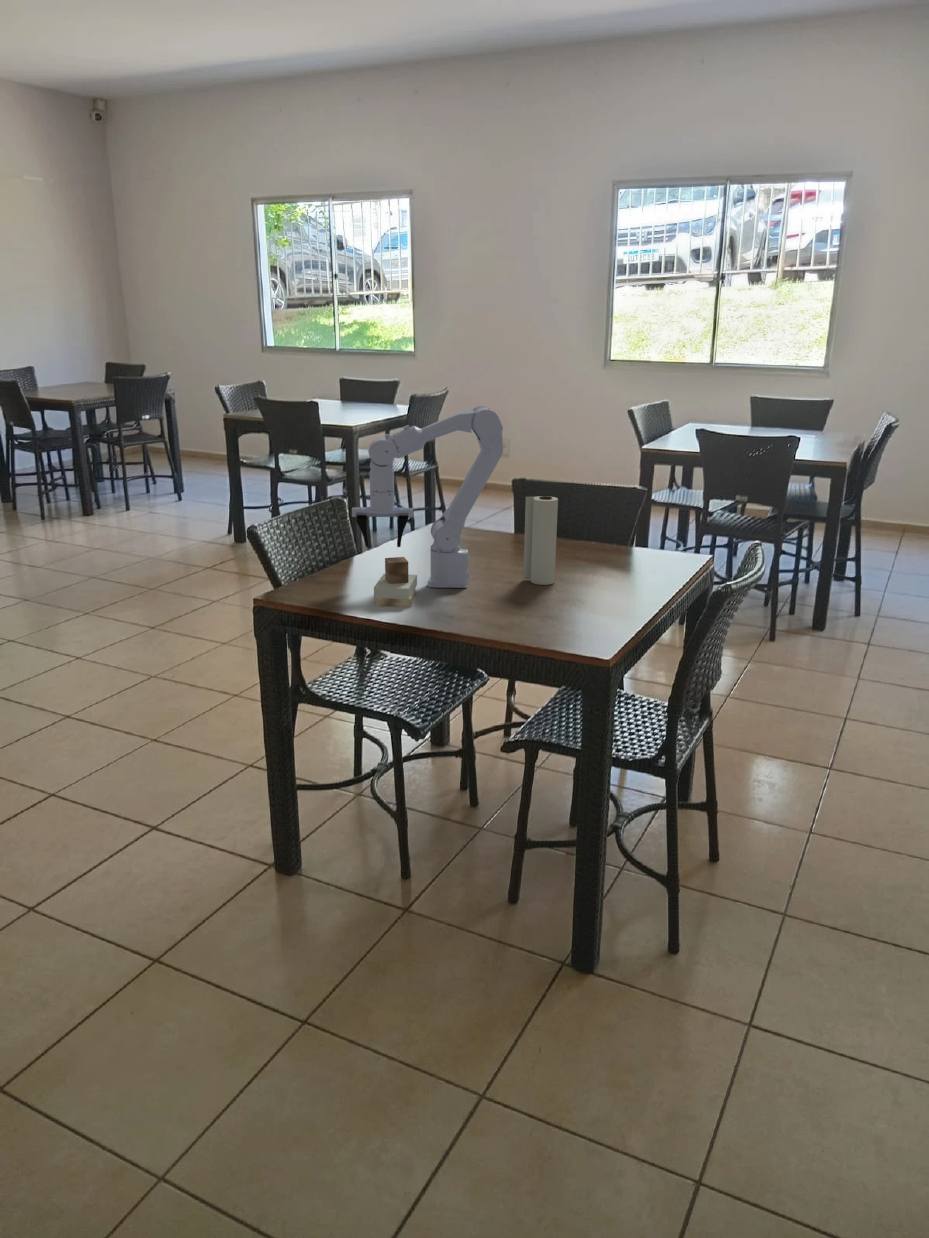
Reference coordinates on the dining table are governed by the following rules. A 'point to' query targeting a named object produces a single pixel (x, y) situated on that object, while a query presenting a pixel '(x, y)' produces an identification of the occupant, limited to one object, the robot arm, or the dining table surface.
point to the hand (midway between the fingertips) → (383, 546)
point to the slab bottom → (395, 601)
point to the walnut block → (396, 570)
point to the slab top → (395, 588)
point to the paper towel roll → (540, 539)
